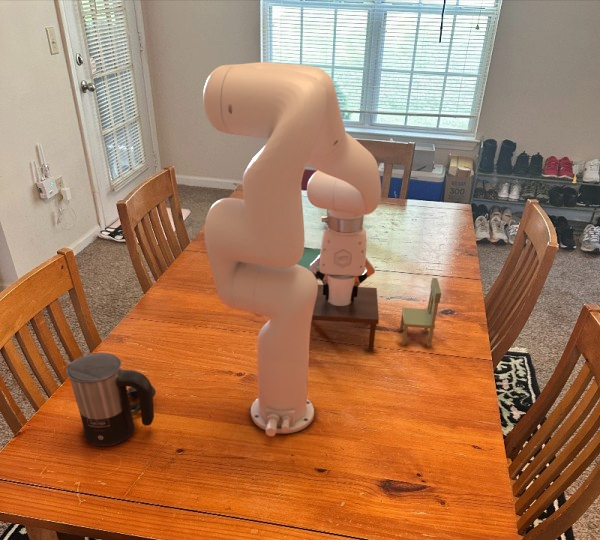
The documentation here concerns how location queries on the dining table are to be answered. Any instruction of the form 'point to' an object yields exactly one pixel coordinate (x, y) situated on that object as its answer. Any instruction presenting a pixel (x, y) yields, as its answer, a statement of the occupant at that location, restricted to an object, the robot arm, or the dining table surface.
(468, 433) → the dining table surface
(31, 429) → the dining table surface
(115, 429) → the milk frother
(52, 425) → the dining table surface
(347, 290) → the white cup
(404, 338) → the chair
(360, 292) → the model table
